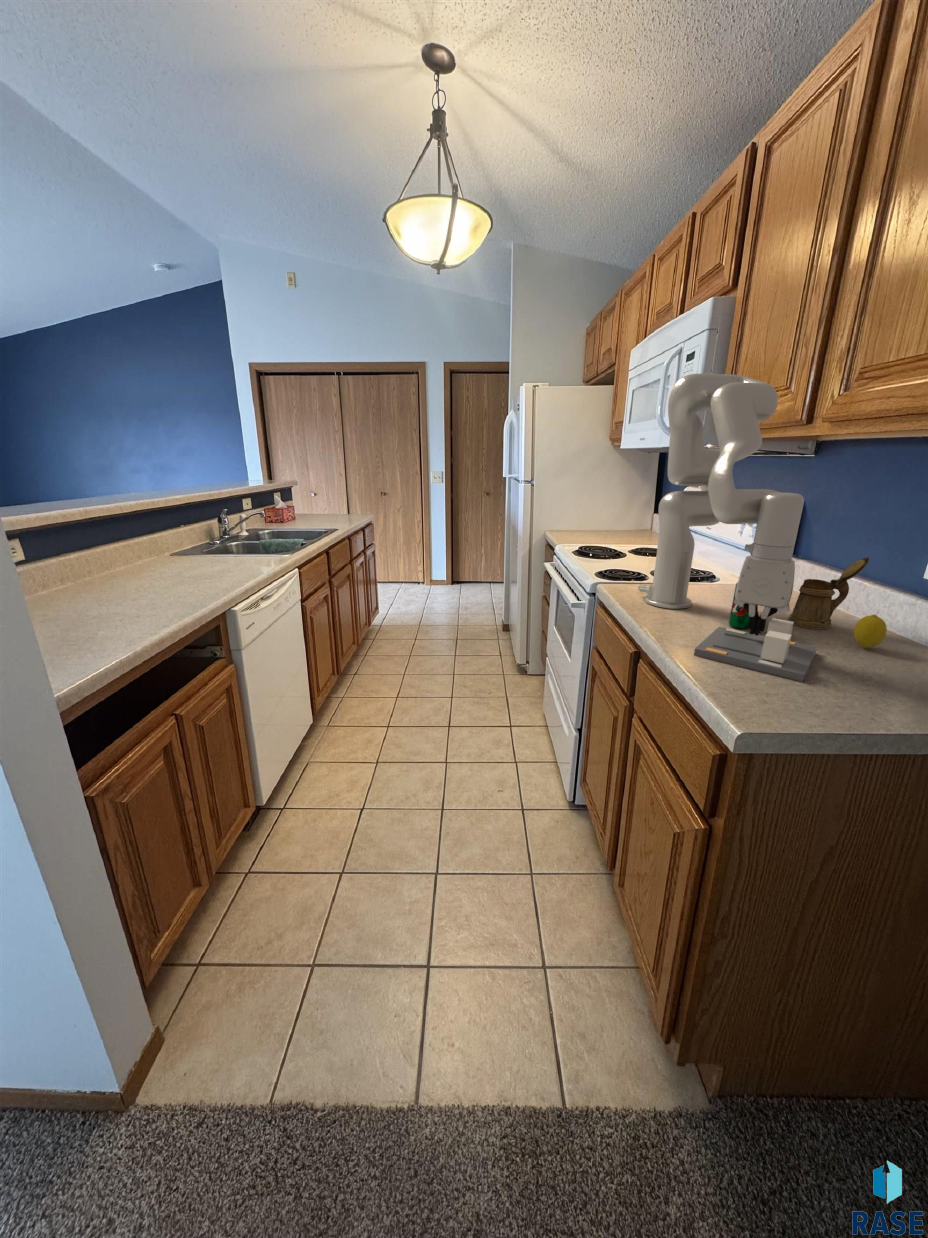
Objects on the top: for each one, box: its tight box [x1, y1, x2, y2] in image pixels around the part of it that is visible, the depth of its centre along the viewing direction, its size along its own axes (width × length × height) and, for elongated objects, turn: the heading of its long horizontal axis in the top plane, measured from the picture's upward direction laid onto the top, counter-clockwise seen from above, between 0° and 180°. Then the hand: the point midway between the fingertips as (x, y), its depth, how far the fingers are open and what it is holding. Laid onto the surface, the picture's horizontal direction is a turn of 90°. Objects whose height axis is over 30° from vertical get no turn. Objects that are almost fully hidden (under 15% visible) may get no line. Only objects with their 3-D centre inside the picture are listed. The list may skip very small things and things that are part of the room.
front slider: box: [761, 630, 793, 664], centre depth 100 cm, size 4×4×5 cm
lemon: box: [853, 614, 888, 649], centre depth 110 cm, size 6×6×8 cm
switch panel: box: [693, 626, 818, 682], centre depth 107 cm, size 20×18×2 cm
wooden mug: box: [787, 557, 870, 631], centre depth 123 cm, size 9×14×18 cm, turn 69°
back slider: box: [766, 617, 794, 635], centre depth 108 cm, size 4×4×5 cm
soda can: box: [728, 581, 750, 631], centre depth 123 cm, size 5×5×12 cm
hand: (755, 633), depth 111 cm, fingers closed
